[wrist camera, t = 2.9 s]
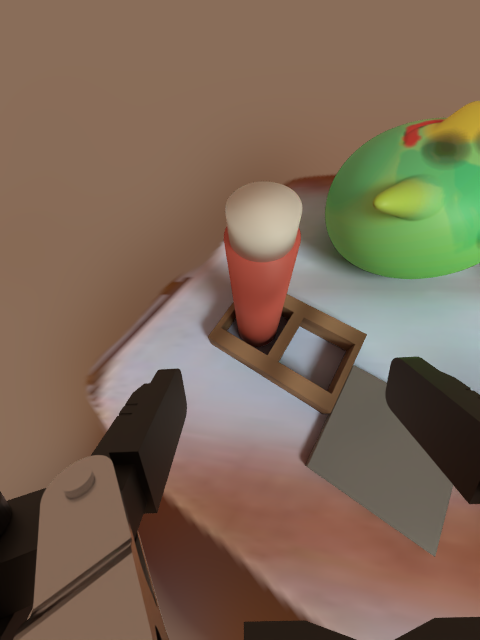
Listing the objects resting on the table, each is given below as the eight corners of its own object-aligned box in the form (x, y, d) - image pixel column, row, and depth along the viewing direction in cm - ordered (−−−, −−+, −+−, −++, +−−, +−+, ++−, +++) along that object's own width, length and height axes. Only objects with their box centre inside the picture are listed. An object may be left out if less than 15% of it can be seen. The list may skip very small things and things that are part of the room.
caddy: (211, 344, 27) (207, 336, 25) (252, 287, 30) (252, 276, 28) (323, 414, 23) (330, 413, 21) (356, 342, 26) (366, 334, 24)
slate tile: (350, 366, 25) (353, 365, 24) (460, 427, 22) (467, 427, 22) (305, 465, 22) (307, 466, 21) (428, 551, 19) (435, 556, 18)
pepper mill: (251, 304, 29) (249, 168, 13) (283, 322, 28) (323, 195, 12) (230, 334, 27) (201, 219, 12) (264, 354, 26) (280, 255, 11)
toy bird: (441, 213, 33) (568, 73, 20) (467, 318, 27) (685, 214, 13) (314, 204, 35) (352, 71, 22) (309, 300, 29) (360, 193, 15)
